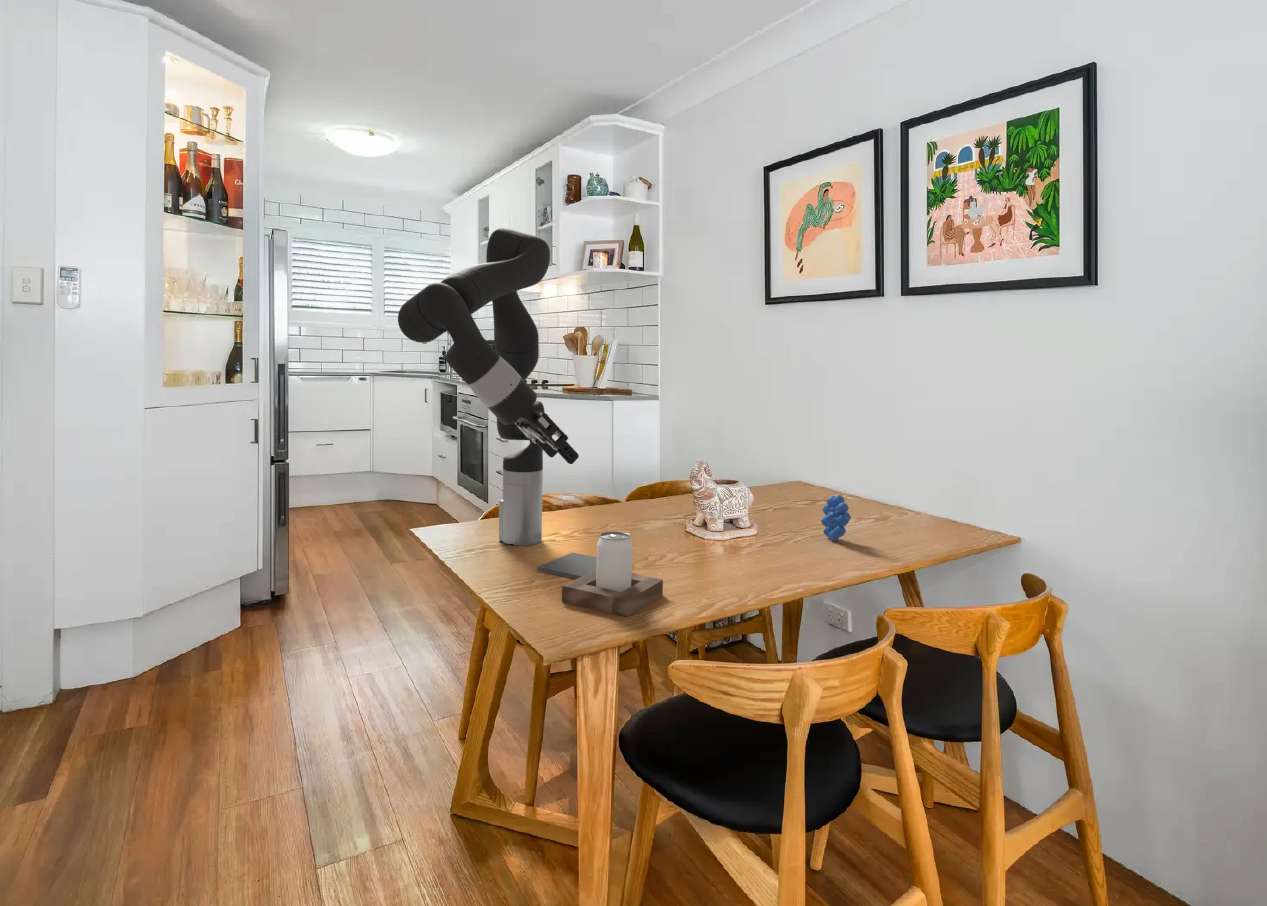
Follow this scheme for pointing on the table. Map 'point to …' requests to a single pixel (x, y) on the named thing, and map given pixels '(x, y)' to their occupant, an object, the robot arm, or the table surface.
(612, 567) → the can
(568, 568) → the mat
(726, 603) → the table surface
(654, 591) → the collar
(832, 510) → the grapes
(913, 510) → the table surface
